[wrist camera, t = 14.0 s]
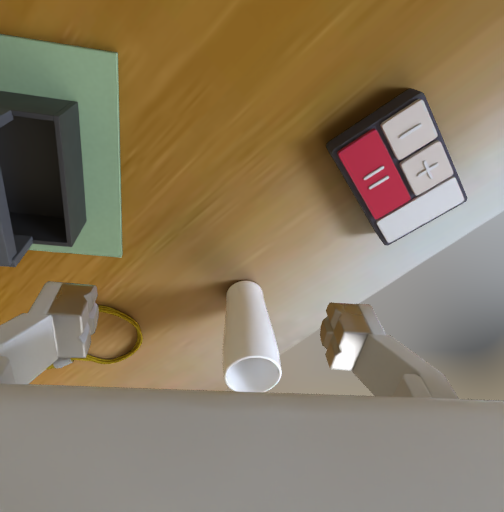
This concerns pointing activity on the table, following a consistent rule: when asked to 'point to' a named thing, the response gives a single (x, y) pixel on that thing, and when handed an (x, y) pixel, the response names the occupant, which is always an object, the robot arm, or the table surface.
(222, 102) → the table surface
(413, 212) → the calculator
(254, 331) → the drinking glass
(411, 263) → the table surface
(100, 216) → the desk mat
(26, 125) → the caddy bin
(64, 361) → the extension cord
